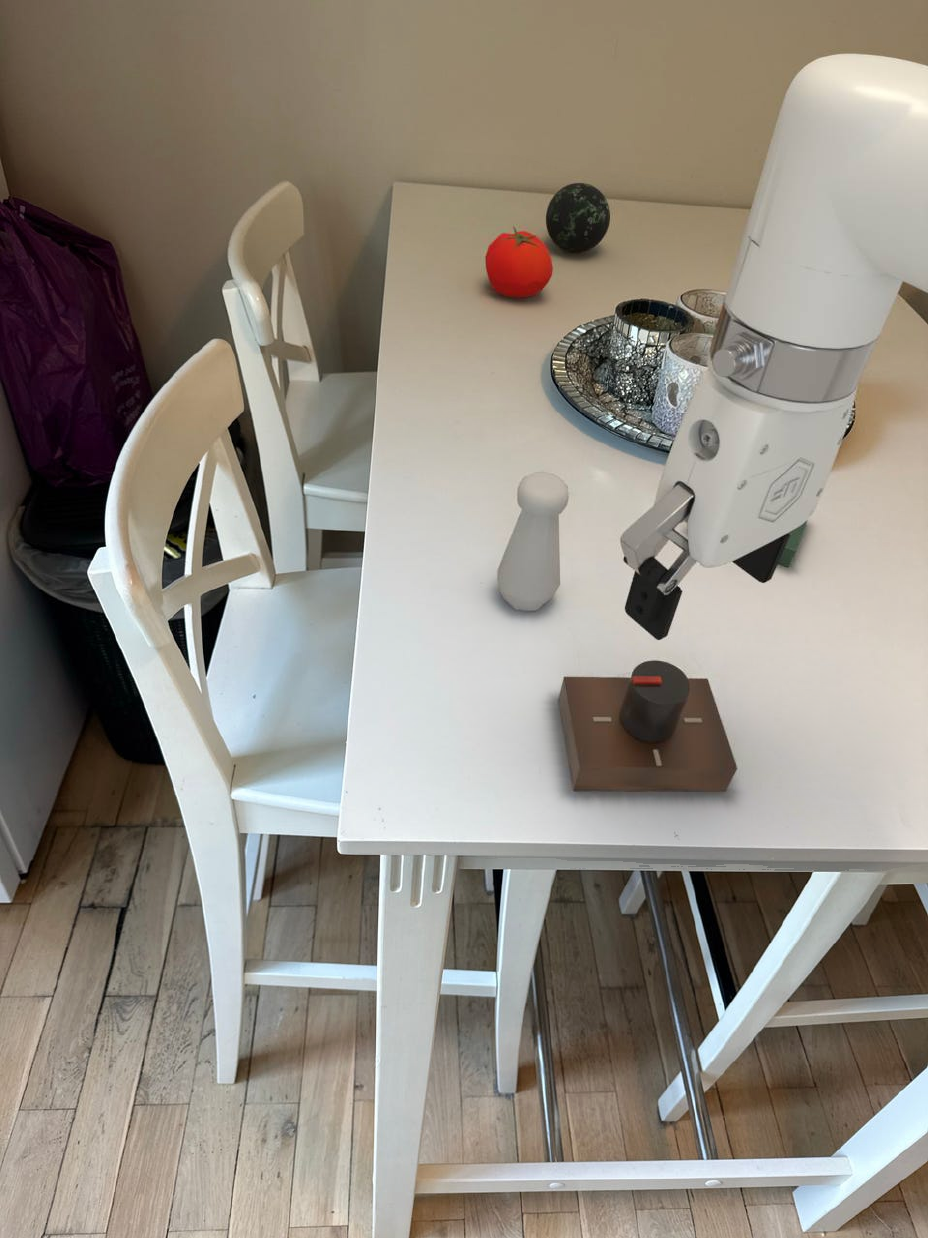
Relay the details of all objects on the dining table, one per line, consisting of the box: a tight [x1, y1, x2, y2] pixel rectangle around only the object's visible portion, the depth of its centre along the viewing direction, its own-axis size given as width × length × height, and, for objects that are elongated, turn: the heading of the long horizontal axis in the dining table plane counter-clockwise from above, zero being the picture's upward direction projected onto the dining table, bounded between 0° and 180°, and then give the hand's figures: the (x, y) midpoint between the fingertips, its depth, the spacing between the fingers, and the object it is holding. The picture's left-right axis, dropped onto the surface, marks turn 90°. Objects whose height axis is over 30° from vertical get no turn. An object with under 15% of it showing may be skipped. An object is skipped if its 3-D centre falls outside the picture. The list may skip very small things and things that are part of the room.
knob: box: [620, 659, 691, 743], centre depth 67 cm, size 4×4×5 cm
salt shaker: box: [496, 471, 569, 612], centre depth 77 cm, size 6×6×13 cm
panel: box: [557, 676, 738, 792], centre depth 69 cm, size 12×9×3 cm
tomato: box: [484, 225, 554, 299], centre depth 126 cm, size 9×10×8 cm
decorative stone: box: [545, 182, 611, 254], centre depth 138 cm, size 10×10×10 cm
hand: (698, 596), depth 56 cm, fingers open, 9 cm apart
